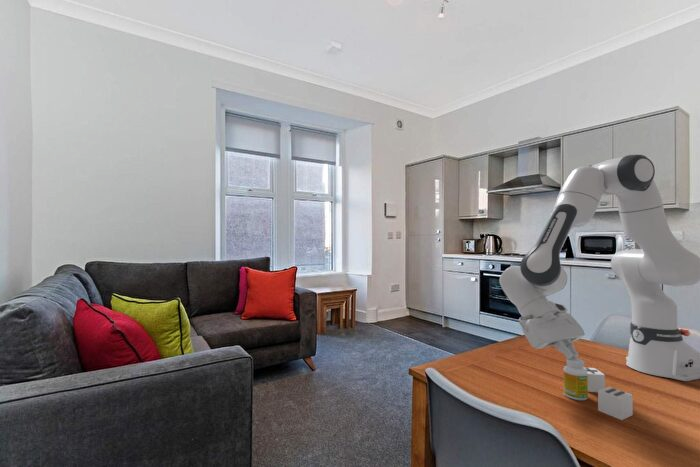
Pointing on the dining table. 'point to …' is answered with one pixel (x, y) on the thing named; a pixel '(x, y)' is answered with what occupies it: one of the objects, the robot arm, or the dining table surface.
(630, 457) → the dining table surface
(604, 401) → the marked block front
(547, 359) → the dining table surface
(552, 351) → the dining table surface
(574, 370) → the supplement bottle
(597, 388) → the marked block back
